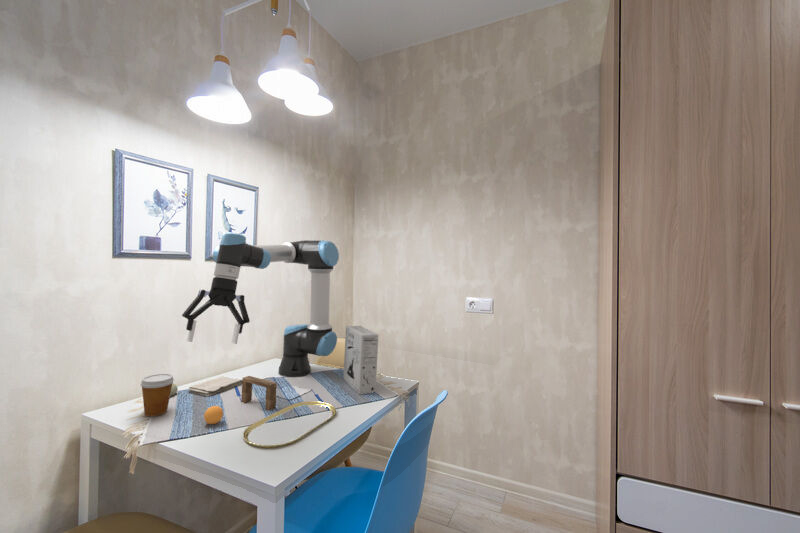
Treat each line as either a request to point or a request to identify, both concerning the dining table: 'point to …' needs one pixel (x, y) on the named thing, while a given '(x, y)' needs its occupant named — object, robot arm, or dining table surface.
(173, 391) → the sea urchin shell
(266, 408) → the bridge
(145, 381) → the disposable coffee cup
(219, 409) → the ball
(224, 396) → the dining table surface
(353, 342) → the cereal box
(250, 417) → the dining table surface
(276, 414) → the oval ring
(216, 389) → the washcloth
